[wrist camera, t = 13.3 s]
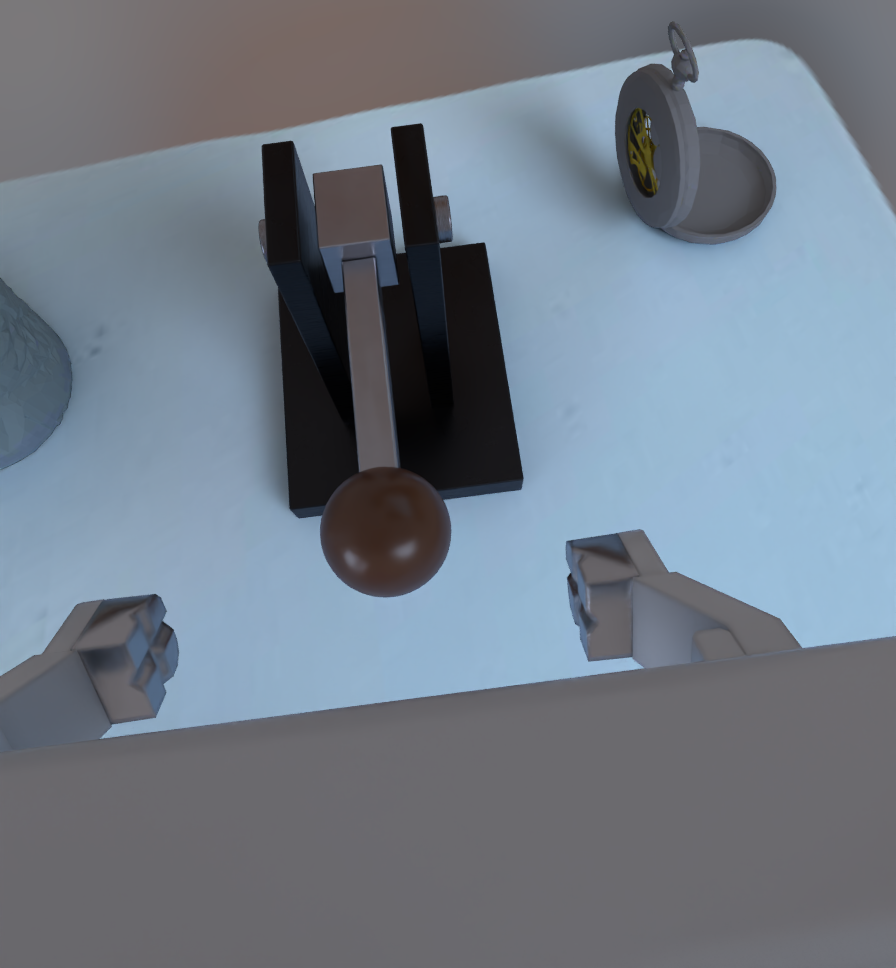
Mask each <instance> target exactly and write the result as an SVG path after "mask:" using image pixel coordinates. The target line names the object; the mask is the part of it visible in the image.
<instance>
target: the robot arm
mask: <svg viewBox="0 0 896 968" xmlns="http://www.w3.org/2000/svg"><path fill="white" fill-rule="evenodd" d="M566 560H567V563H568V566H569V569H570V572H571V573H570V574H569V576H568V577H567V585H568V595H569V602H570V608H571V612H572V616H573V619H574V622H575V624H576V625H578V626H580V640H581V642H582V645H583V648H584V651H585V654H586V656H587V659H588V662H589V661H599V660H609V659H618V658H628V657H633V660H635V661H636V662H637V663H639V664H640V665H641V666H643V667H644V668H645V669H637V670H629V671H621V672H614V673H606V674H598V675H590V676H583V677H575V678H567V679H560V680H552V681H544V682H537V683H529V684H521V685H513V686H506V687H498V688H490V689H483V690H475V691H467V692H459V693H452V694H444V695H436V696H429V697H421V698H413V699H405V700H398V701H390V702H382V703H375V704H367V705H359V706H351V707H344V708H336V709H328V710H321V711H313V712H305V713H297V714H290V715H282V716H274V717H266V718H259V719H251V720H243V721H236V722H228V723H220V724H212V725H205V726H197V727H189V728H182V729H174V730H166V731H158V732H151V733H143V734H135V735H127V736H120V737H112V738H104V739H100V738H101V737H102V736H103V735H104V734H105V733H106V732H107V731H108V730H109V729H110V728H111V727H112V726H111V725H112V724H118V723H124V722H131V721H137V720H143V719H150V718H156V716H157V713H158V711H159V709H160V707H161V704H162V702H163V700H164V697H165V695H166V693H167V692H166V690H165V687H164V683H166V682H167V681H168V680H169V679H170V678H172V677H173V676H174V673H175V671H176V668H177V666H178V656H179V648H178V642H177V638H176V635H175V632H174V629H172V628H171V627H170V626H168V625H167V624H166V623H164V622H163V618H164V616H165V614H166V612H167V611H166V608H165V606H164V604H163V601H162V599H161V597H159V596H158V595H156V594H150V595H141V596H132V597H123V598H114V599H107V600H104V599H103V600H96V601H89V602H83V603H80V604H77V605H76V606H75V607H74V609H73V610H72V612H71V613H70V615H69V616H68V617H67V619H66V620H65V622H64V623H63V625H62V626H61V627H60V629H59V630H58V632H57V633H56V635H55V636H54V637H53V639H52V640H51V642H50V643H49V645H48V646H47V647H46V649H45V650H44V652H43V653H42V654H41V655H34V656H32V657H31V658H29V659H27V660H26V661H24V662H23V663H21V664H19V665H18V666H16V667H15V668H13V669H11V670H10V671H8V672H7V673H5V674H3V675H2V676H0V968H896V636H892V637H885V638H877V639H869V640H862V641H854V642H846V643H839V644H831V645H823V646H815V647H808V648H802V647H801V646H800V644H799V643H798V642H797V641H796V639H795V638H794V637H793V635H792V634H791V633H790V631H789V630H788V629H787V627H786V626H785V625H784V623H783V622H782V621H781V620H780V619H779V618H777V617H775V616H773V615H770V614H768V613H766V612H764V611H761V610H759V609H757V608H755V607H753V606H750V605H748V604H746V603H744V602H742V601H739V600H737V599H735V598H733V597H730V596H728V595H726V594H724V593H722V592H719V591H717V590H715V589H713V588H711V587H708V586H706V585H704V584H702V583H699V582H697V581H695V580H693V579H691V578H688V577H686V576H684V575H682V574H680V573H677V572H671V573H669V572H668V570H667V569H666V567H665V565H664V564H663V562H662V560H661V559H660V557H659V556H658V554H657V552H656V551H655V549H654V547H653V546H652V544H651V542H650V541H649V539H648V537H647V536H646V534H645V532H644V531H643V530H641V529H638V530H632V531H626V532H620V533H615V534H609V535H602V536H596V537H590V538H583V539H577V540H570V541H566Z"/></svg>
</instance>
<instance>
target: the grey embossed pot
mask: <svg viewBox="0 0 896 968" xmlns="http://www.w3.org/2000/svg"><path fill="white" fill-rule="evenodd" d="M71 383H72V372H71V362H70V360H69V355H68V353H67V350H66V348H65V346H64V344H63V343H62V341H61V339H60V338H59V336H58V335H57V334H56V333H55V332H54V331H53V330H52V329H51V328H50V327H49V326H48V325H47V324H46V323H45V322H44V321H43V320H42V319H41V318H40V317H39V316H38V315H37V314H36V313H35V312H34V311H33V310H32V309H31V308H30V307H29V306H28V305H27V304H26V303H25V302H24V301H23V300H22V299H20V298H18V297H17V296H16V295H15V294H14V293H13V291H12V289H11V288H10V287H8V286H7V285H6V284H5V283H4V281H3V280H2V279H1V278H0V469H3V468H5V467H8V466H10V465H12V464H14V463H16V462H18V461H20V460H21V459H23V458H25V457H26V456H28V455H30V454H31V453H33V452H34V451H35V450H36V449H37V448H38V447H39V446H40V445H41V444H42V443H43V442H44V441H45V440H46V439H47V438H48V437H49V436H50V435H51V434H52V432H53V431H54V429H55V427H56V426H58V425H59V424H60V423H61V420H62V418H63V411H64V410H66V409H67V408H68V401H69V399H70V392H71Z"/></svg>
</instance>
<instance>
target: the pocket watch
mask: <svg viewBox="0 0 896 968" xmlns="http://www.w3.org/2000/svg"><path fill="white" fill-rule="evenodd" d="M674 30H675V31H676V32H677V34H678V35H679V37H680V38H681V40H682V42H683V44H684V46H685V48H686V49H685V50H682V51H681V53H680V52H679V50H678V47H677V44H676V40H675V35H674ZM668 35H669V40H670V43H671V47H672V50H673V53H674V56H673V59H672V61H671V65H672V70H673V72H674V74H673V73H672V71H671V70H669V69H668V68H666V67H665V66H663V65H662V64H649V65H647V66H644V67H642V68H640V69H638V70H637V71H636V72H633V73H632V74H631V75H630V76H629V77H628V78H627V79H626V81H625V82H624V84H623V86H622V89H621V91H620V95H619V100H618V105H617V111H616V116H615V138H616V151H617V159H618V164H619V168H620V173H621V177H622V181H623V184H624V187H625V190H626V193H627V196H628V198H629V200H630V202H631V204H632V206H633V208H634V210H635V211H636V213H637V215H638V216H639V217H640V218H641V219H642V220H643V222H644V223H646V224H647V225H649V226H651V227H654V228H661V229H662V230H663V231H665V232H666V233H668V234H670V235H671V236H673V237H676V238H679V239H682V240H685V241H688V242H691V243H701V244H719V243H725V242H728V241H732V240H736V239H738V238H740V237H742V236H744V235H746V234H748V233H749V232H751V231H752V230H753V229H754V228H756V227H757V226H758V225H760V223H761V222H762V220H763V219H764V217H765V216H766V215H767V213H768V212H769V210H770V209H771V207H772V205H773V202H774V199H775V195H776V177H775V173H774V170H773V168H772V166H771V164H770V162H769V160H768V159H767V157H766V156H765V155H764V154H763V152H762V151H761V150H760V149H759V148H758V147H756V146H755V145H754V144H753V143H752V142H750V141H748V140H747V139H745V138H744V137H742V136H740V135H737V134H735V133H732V132H730V131H727V130H721V129H714V128H708V127H697V126H696V120H695V117H694V114H693V111H692V108H691V106H690V103H689V100H688V97H687V95H686V92H685V90H684V89H683V87H684V84H685V82H687V81H691V82H693V83H695V82H696V81H698V74H699V71H698V66H697V61H696V58H695V55H694V52H693V50H692V47H691V44H690V42H689V40H688V38H687V36H686V35H685V33H684V31H683V29H682V28H681V27H680V26H679V24H677V23H675V22H671V23H670V24H669V26H668ZM649 117H650V118H649ZM648 118H649V119H650V121H651V125H650V128H649V126H648ZM646 119H647V127H648V128H646V127H645V123H646ZM646 130H648V135H647V132H646ZM649 130H650V134H651V139H650V137H649ZM651 144H652V145H651Z"/></svg>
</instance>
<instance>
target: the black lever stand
mask: <svg viewBox="0 0 896 968" xmlns="http://www.w3.org/2000/svg"><path fill="white" fill-rule="evenodd" d="M391 136H392V144H393V153H394V161H395V169H396V178H397V186H398V194H399V203H400V211H401V219H402V227H403V236H404V244H405V251H406V253H400V254H396V257H397V266H398V275H399V284H398V285H392V286H384V287H382V297H383V306H384V316H385V325H386V335H387V344H388V354H389V363H390V373H391V382H392V391H393V401H394V410H395V420H396V429H397V439H398V448H399V458H400V467H401V468H403V469H406V470H409V471H411V472H413V473H416V474H418V475H419V476H421V477H422V478H424V479H425V480H426V481H428V482H429V483H430V484H431V485H432V486H433V487H434V488H435V489H436V490H437V491H438V493H439V494H440V496H441V497H442V499H443V500H445V499H453V498H461V497H468V496H476V495H484V494H492V493H499V492H507V491H515V490H521V489H522V484H523V479H524V478H523V472H522V466H521V460H520V453H519V447H518V441H517V435H516V429H515V423H514V417H513V410H512V404H511V398H510V392H509V386H508V380H507V374H506V368H505V361H504V355H503V349H502V343H501V337H500V331H499V325H498V318H497V312H496V306H495V300H494V294H493V288H492V282H491V275H490V269H489V263H488V257H487V251H486V245H485V243H476V244H468V245H461V246H453V247H446V248H440V245H439V243H445V242H451V241H452V240H453V234H452V223H451V214H450V207H449V200H448V197H447V196H446V195H445V196H437V197H433V193H432V186H431V179H430V172H429V164H428V157H427V150H426V143H425V136H424V128H423V125H422V124H421V123H420V124H413V125H405V126H398V127H392V128H391ZM262 166H263V186H264V207H265V219H263V220H260V221H259V238H260V244H261V248H262V252H263V255H264V258H265V260H266V262H267V265H268V267H269V269H270V271H271V273H272V276H273V278H274V280H275V282H276V284H277V286H278V298H279V317H280V335H281V354H282V373H283V392H284V411H285V430H286V449H287V468H288V487H289V506H290V510H291V511H292V512H293V513H294V514H295V515H296V516H297V517H298V518H306V517H314V516H321V515H323V511H324V509H325V507H326V504H327V502H328V501H329V499H330V497H331V495H332V494H333V493H334V491H335V490H336V489H337V488H338V487H339V486H340V485H341V484H342V483H343V482H344V481H345V480H347V479H348V478H350V477H351V476H353V475H354V474H356V473H359V464H358V453H357V441H356V430H355V418H354V406H353V395H352V383H351V372H350V360H349V348H348V337H347V325H346V313H345V302H344V292H339V293H334V292H333V289H332V286H331V283H330V280H329V278H328V275H327V272H326V269H325V266H324V263H323V261H322V258H321V255H320V252H319V249H318V241H317V227H316V214H315V206H314V203H313V200H312V197H311V194H310V190H309V187H308V184H307V181H306V178H305V175H304V172H303V169H302V166H301V163H300V160H299V157H298V154H297V151H296V148H295V145H294V143H293V141H286V142H278V143H271V144H263V145H262Z"/></svg>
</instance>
